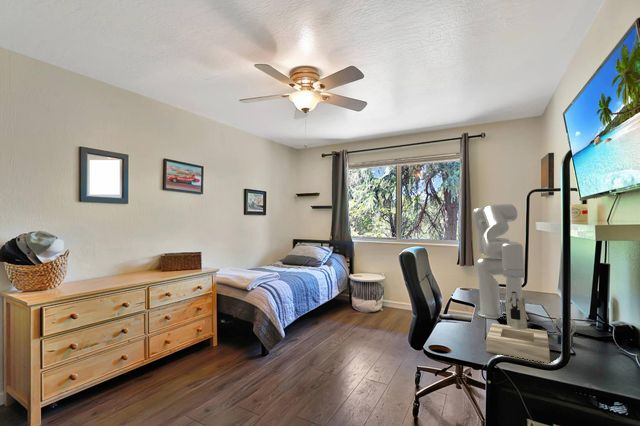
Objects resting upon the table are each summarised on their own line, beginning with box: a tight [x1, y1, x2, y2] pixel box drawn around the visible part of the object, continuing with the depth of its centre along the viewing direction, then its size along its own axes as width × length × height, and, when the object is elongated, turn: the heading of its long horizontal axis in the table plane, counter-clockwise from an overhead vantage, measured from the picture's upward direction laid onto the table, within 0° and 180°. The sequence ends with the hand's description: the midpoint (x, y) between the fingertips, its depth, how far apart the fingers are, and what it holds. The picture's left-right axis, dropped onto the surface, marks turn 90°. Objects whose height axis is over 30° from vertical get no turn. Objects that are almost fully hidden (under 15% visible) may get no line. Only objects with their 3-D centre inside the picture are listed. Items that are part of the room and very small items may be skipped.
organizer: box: [485, 323, 551, 364], centre depth 122 cm, size 22×20×5 cm
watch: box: [551, 315, 578, 347], centre depth 125 cm, size 6×8×11 cm
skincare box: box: [504, 295, 528, 330], centre depth 122 cm, size 6×4×12 cm
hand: (516, 316), depth 122 cm, fingers closed on skincare box, 7 cm apart
